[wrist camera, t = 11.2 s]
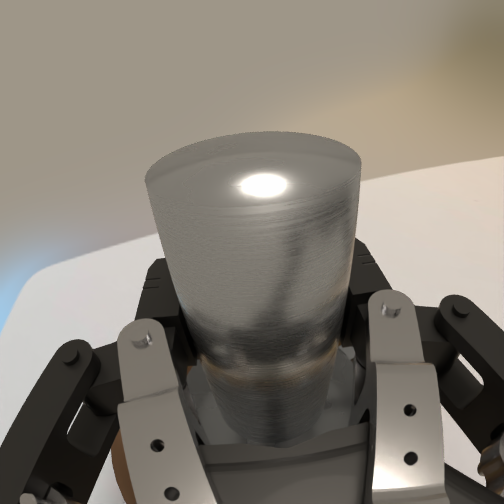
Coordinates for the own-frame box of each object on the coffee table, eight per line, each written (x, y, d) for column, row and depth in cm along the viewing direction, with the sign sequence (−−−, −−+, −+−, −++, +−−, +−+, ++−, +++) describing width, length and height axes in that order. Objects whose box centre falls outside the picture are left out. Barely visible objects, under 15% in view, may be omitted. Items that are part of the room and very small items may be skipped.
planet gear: (231, 313, 18) (198, 115, 11) (391, 355, 14) (449, 134, 8) (134, 448, 11) (-28, 242, 5) (334, 534, 7) (543, 457, 1)
